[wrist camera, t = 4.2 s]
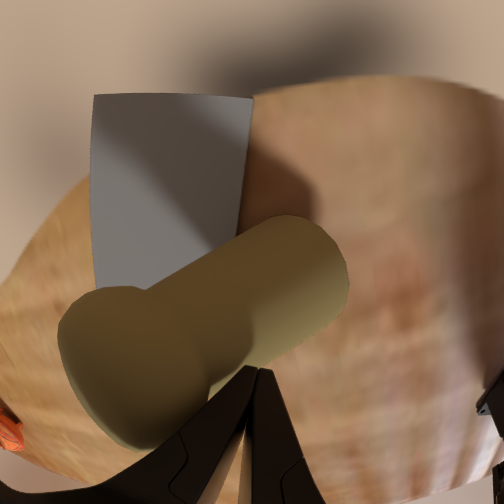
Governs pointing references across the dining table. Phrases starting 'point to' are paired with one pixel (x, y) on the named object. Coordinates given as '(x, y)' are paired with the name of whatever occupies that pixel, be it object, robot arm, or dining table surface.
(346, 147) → the dining table surface
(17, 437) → the pot
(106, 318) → the cork
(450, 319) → the dining table surface
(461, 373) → the dining table surface
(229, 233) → the mat
